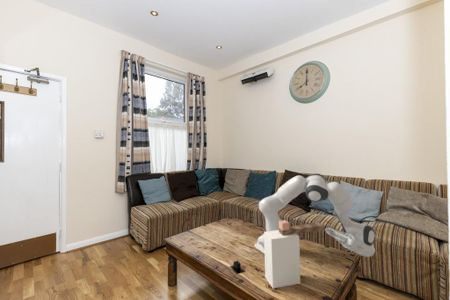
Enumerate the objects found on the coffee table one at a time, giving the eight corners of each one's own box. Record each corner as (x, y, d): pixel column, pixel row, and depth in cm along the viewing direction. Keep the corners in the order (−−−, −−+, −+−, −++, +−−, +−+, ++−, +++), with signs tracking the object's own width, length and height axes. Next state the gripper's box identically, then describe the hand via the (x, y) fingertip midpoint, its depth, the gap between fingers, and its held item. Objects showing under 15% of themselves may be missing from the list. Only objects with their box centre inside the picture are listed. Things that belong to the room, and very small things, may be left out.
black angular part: (227, 266, 133) (227, 259, 133) (237, 263, 136) (237, 256, 136) (236, 277, 122) (236, 269, 122) (247, 273, 125) (247, 266, 125)
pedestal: (272, 288, 110) (271, 239, 110) (265, 277, 120) (263, 231, 120) (300, 283, 114) (299, 235, 113) (290, 272, 124) (289, 228, 123)
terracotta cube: (282, 230, 114) (282, 223, 114) (279, 228, 118) (278, 221, 118) (289, 229, 115) (289, 222, 115) (285, 227, 119) (285, 220, 119)
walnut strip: (282, 235, 114) (282, 231, 114) (278, 232, 118) (278, 227, 118) (324, 229, 120) (324, 225, 120) (319, 226, 124) (319, 222, 124)
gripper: (362, 255, 115) (343, 245, 112) (335, 239, 135) (318, 231, 132) (367, 244, 115) (347, 234, 113) (339, 230, 135) (322, 221, 133)
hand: (331, 232), depth 123 cm, fingers open, 8 cm apart
